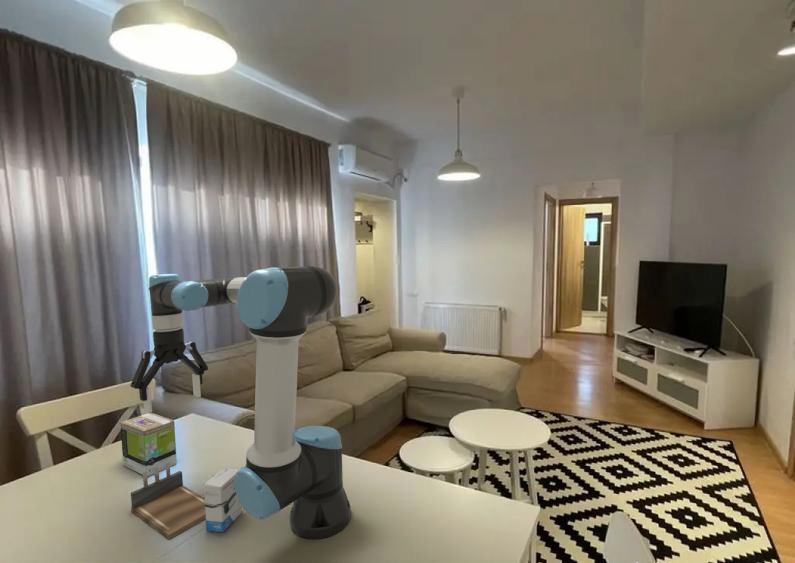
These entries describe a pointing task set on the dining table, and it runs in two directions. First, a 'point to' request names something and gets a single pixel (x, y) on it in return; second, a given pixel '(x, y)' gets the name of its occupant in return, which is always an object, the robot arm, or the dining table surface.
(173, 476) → the header board
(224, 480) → the ink box
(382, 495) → the dining table surface
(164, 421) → the tea box
